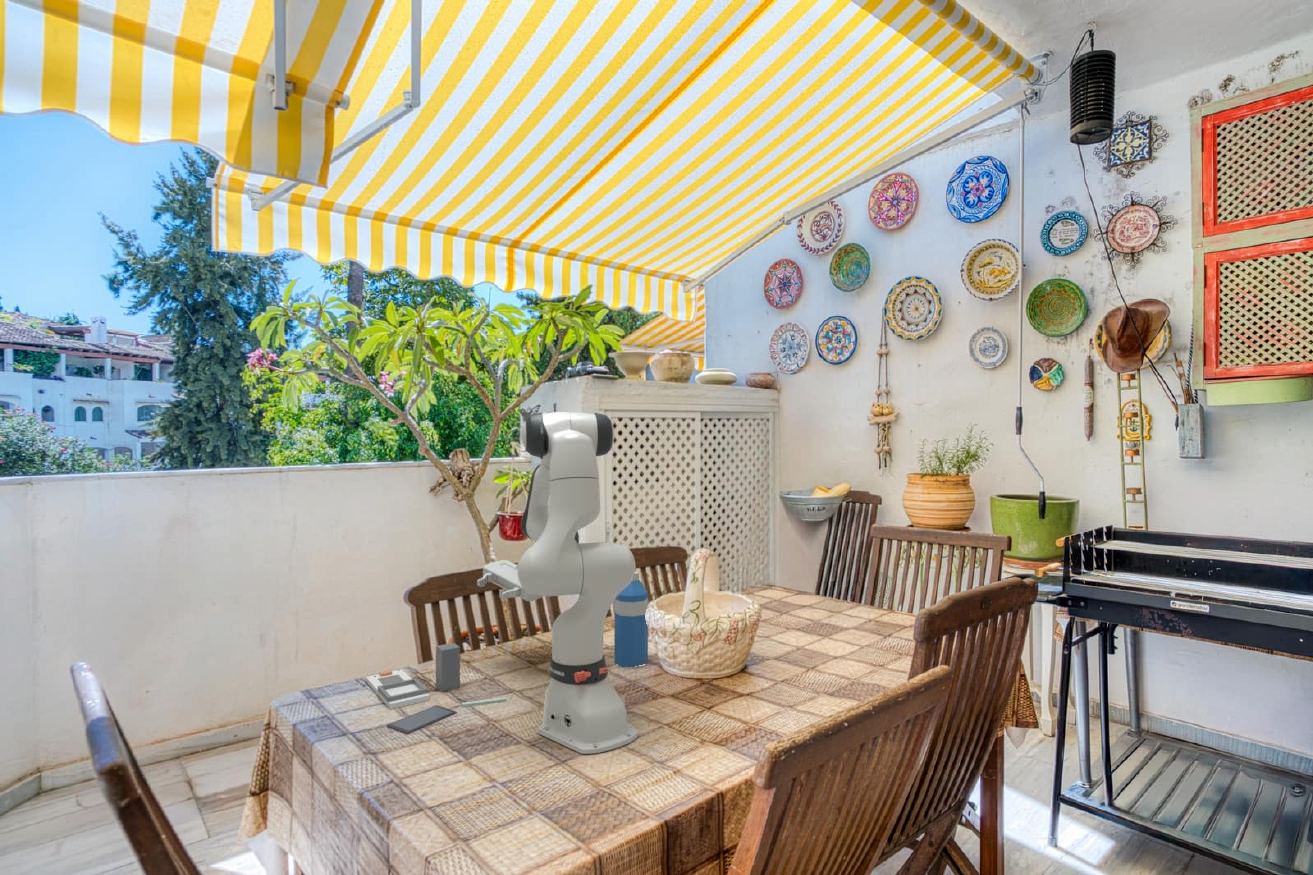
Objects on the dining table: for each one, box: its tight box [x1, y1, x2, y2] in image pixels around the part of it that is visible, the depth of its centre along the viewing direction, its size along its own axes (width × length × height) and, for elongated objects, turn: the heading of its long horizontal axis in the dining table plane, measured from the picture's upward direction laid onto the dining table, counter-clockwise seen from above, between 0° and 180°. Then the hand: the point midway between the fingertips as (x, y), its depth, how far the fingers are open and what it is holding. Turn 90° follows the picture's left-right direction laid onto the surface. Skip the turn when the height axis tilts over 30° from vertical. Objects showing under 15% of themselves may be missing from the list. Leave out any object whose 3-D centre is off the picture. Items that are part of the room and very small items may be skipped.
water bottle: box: [613, 570, 649, 668], centre depth 182 cm, size 9×9×25 cm
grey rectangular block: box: [435, 642, 461, 692], centre depth 164 cm, size 4×4×10 cm
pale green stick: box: [461, 696, 507, 708], centre depth 154 cm, size 10×1×1 cm, turn 109°
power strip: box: [365, 669, 431, 710], centre depth 161 cm, size 22×9×2 cm, turn 37°
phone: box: [386, 704, 457, 735], centre depth 144 cm, size 7×13×1 cm, turn 147°
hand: (489, 589), depth 170 cm, fingers open, 8 cm apart
